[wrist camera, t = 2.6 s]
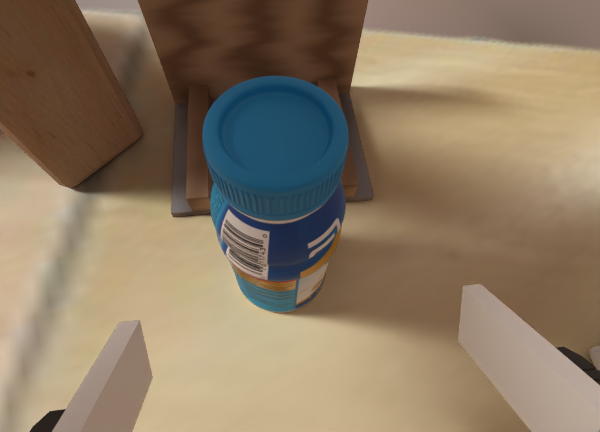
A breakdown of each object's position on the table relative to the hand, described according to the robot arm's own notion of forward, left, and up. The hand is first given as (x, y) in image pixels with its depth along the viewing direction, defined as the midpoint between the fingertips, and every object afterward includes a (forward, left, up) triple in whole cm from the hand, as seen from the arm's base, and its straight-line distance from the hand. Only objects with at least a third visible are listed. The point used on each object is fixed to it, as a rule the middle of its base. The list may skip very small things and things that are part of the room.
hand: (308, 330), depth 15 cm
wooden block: (-21, +25, -18) cm, 37 cm away
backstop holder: (-1, +22, -17) cm, 28 cm away
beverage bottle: (-1, +8, -18) cm, 19 cm away
